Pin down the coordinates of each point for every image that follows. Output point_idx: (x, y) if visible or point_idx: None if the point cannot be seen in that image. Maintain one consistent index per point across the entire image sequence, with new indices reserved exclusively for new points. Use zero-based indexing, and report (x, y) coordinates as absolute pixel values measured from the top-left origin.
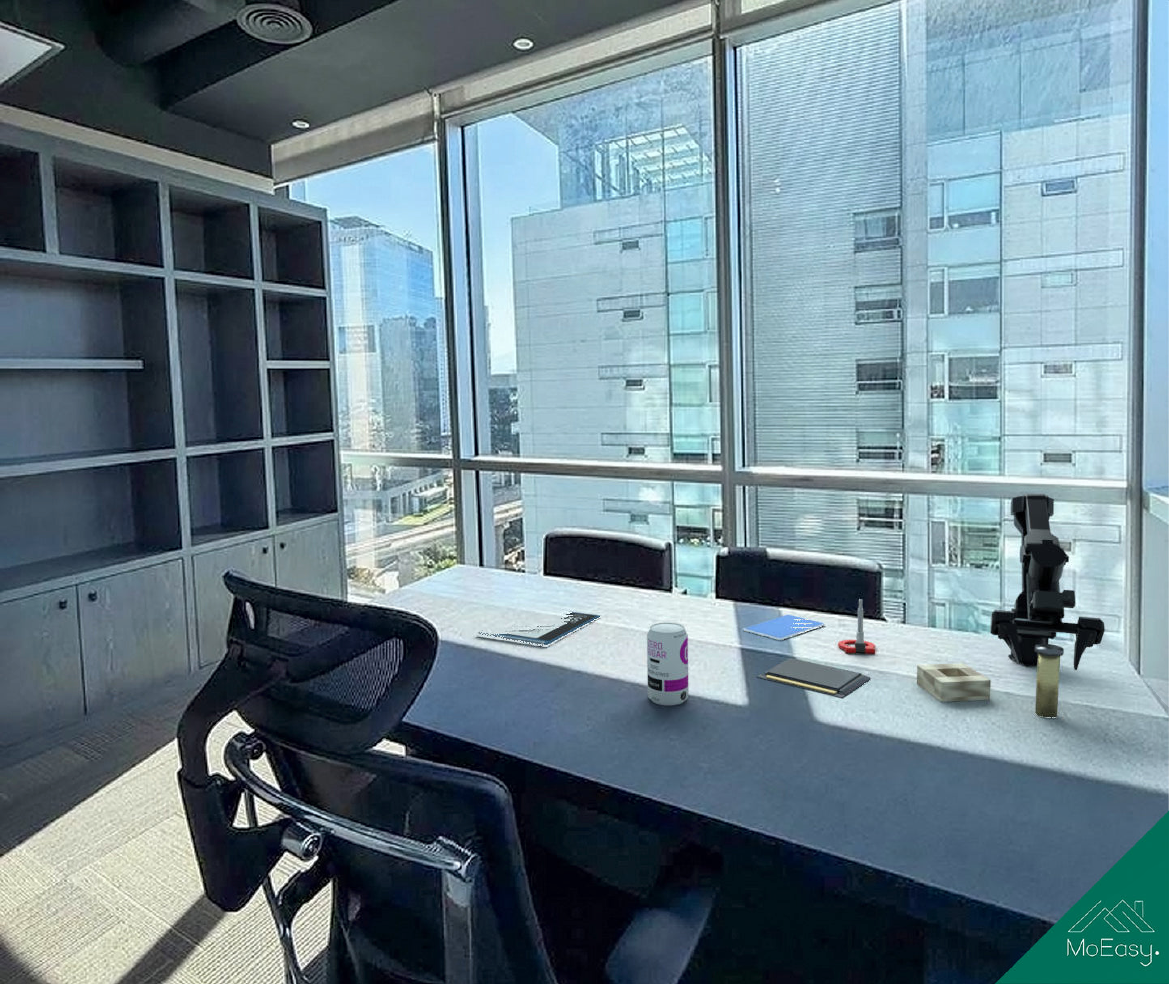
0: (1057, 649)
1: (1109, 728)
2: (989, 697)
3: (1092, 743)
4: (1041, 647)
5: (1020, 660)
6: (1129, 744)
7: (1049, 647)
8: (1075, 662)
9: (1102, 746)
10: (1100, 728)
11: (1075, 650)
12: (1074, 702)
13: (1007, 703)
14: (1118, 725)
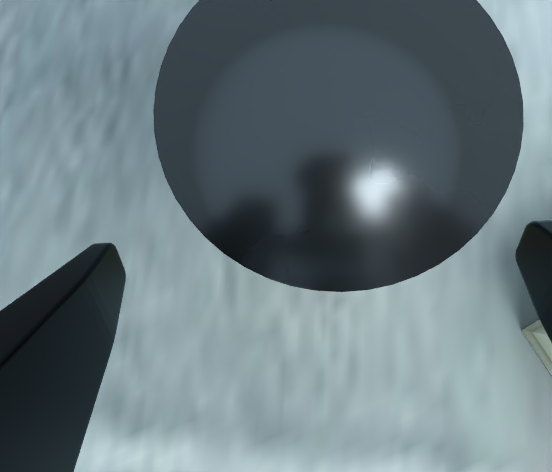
0: (235, 55)
1: (89, 191)
2: (529, 329)
3: (167, 25)
4: (438, 62)
5: (541, 221)
6: (52, 67)
7: (333, 107)
8: (90, 263)
9: (140, 13)
10: (120, 178)
11: (19, 417)
12: (178, 448)
13: (448, 313)
14: (52, 237)
